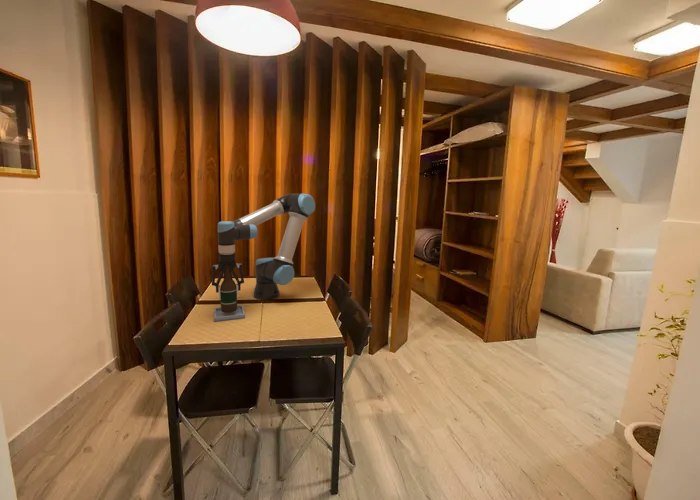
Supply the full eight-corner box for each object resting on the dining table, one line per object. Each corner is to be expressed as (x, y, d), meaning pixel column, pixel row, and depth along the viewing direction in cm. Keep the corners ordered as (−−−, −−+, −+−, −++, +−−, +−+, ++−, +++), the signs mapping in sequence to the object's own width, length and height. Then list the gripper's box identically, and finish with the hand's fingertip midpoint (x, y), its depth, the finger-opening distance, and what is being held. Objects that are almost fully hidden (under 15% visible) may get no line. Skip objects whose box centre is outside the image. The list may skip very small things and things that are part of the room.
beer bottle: (231, 313, 153) (230, 266, 149) (217, 312, 155) (215, 265, 150) (240, 308, 161) (238, 263, 156) (226, 306, 162) (224, 261, 158)
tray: (242, 308, 167) (242, 304, 167) (245, 318, 154) (245, 314, 154) (214, 311, 162) (214, 307, 161) (214, 321, 149) (214, 317, 149)
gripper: (248, 250, 160) (249, 293, 164) (204, 252, 152) (206, 297, 156) (249, 253, 153) (250, 297, 157) (203, 255, 145) (206, 302, 149)
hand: (228, 297), depth 156 cm, fingers closed on beer bottle, 8 cm apart
